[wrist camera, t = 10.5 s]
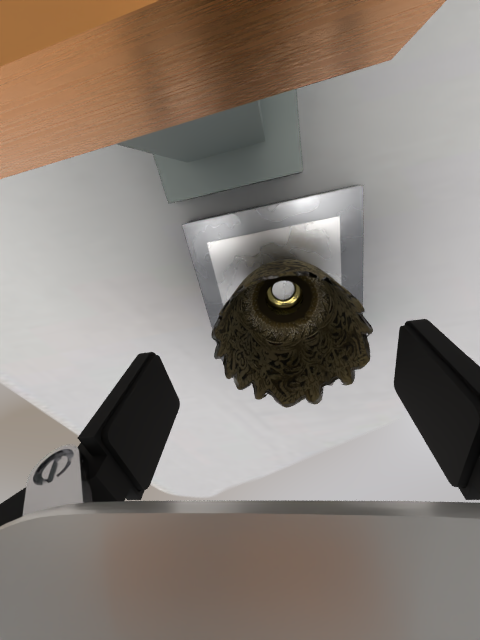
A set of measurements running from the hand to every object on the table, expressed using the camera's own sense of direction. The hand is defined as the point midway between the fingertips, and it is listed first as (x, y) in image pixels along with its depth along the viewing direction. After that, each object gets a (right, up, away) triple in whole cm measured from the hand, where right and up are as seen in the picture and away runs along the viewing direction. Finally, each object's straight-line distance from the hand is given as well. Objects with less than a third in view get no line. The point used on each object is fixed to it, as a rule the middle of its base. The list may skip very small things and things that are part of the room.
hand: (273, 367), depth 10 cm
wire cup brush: (+2, +4, +9) cm, 10 cm away
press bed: (+2, +5, +11) cm, 12 cm away
